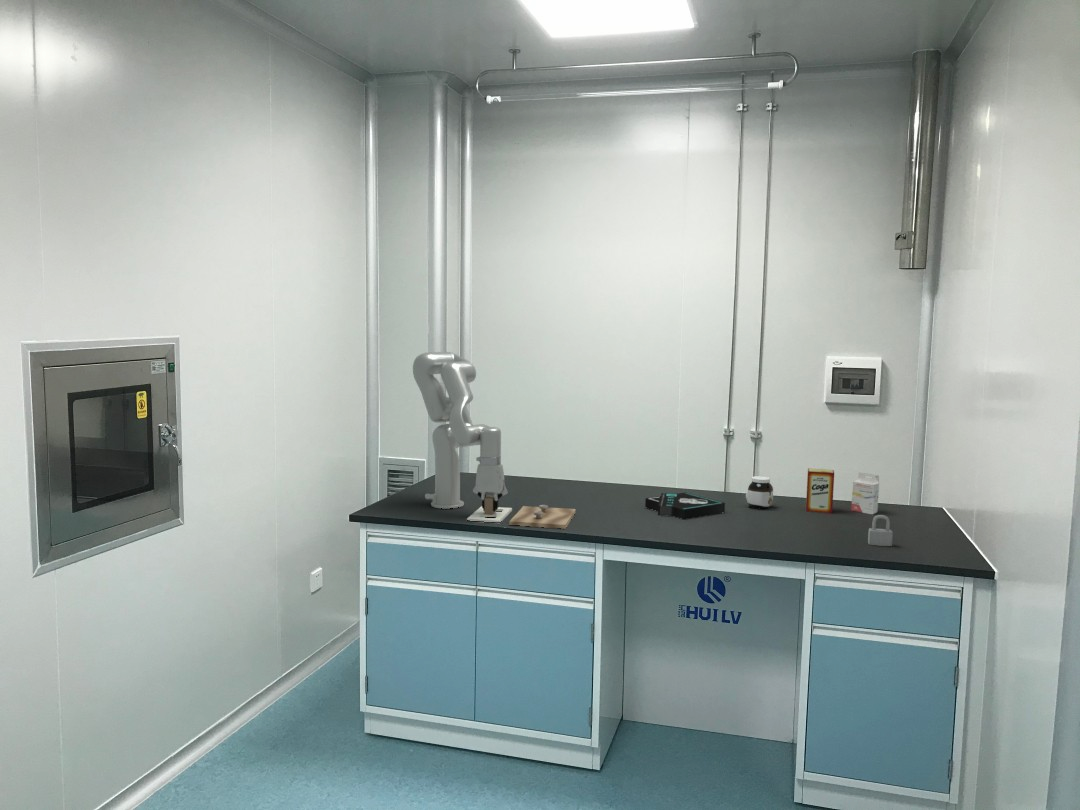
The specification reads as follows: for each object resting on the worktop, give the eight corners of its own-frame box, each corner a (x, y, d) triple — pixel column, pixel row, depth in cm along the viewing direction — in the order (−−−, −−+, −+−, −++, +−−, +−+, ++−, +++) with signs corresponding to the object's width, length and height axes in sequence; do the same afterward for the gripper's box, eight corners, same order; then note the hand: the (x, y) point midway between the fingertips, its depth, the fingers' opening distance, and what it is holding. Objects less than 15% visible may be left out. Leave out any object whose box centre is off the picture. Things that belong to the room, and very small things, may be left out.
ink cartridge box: (850, 510, 320) (852, 473, 318) (855, 508, 324) (857, 471, 322) (872, 514, 314) (875, 476, 313) (877, 512, 318) (880, 474, 316)
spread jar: (760, 510, 318) (762, 481, 317) (736, 505, 327) (737, 476, 325) (778, 506, 326) (779, 477, 325) (753, 501, 334) (755, 472, 333)
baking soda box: (806, 511, 318) (808, 470, 317) (805, 507, 325) (807, 467, 323) (832, 513, 316) (834, 471, 314) (831, 509, 322) (833, 469, 320)
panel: (466, 521, 296) (467, 502, 295) (481, 508, 315) (481, 490, 315) (499, 523, 294) (499, 504, 293) (512, 510, 313) (512, 492, 312)
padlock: (869, 545, 272) (870, 515, 271) (867, 542, 276) (869, 512, 275) (892, 547, 270) (894, 517, 269) (890, 544, 274) (892, 514, 273)
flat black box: (642, 517, 306) (725, 523, 300) (642, 507, 306) (725, 512, 300) (647, 500, 335) (723, 504, 330) (648, 490, 335) (724, 494, 329)
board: (509, 525, 291) (509, 515, 290) (523, 509, 314) (523, 500, 314) (565, 529, 287) (565, 518, 287) (575, 512, 311) (575, 503, 310)
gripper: (466, 461, 300) (465, 511, 302) (510, 463, 297) (509, 514, 299) (471, 458, 307) (471, 506, 309) (514, 460, 304) (514, 509, 306)
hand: (490, 509), depth 304 cm, fingers closed on panel, 3 cm apart
